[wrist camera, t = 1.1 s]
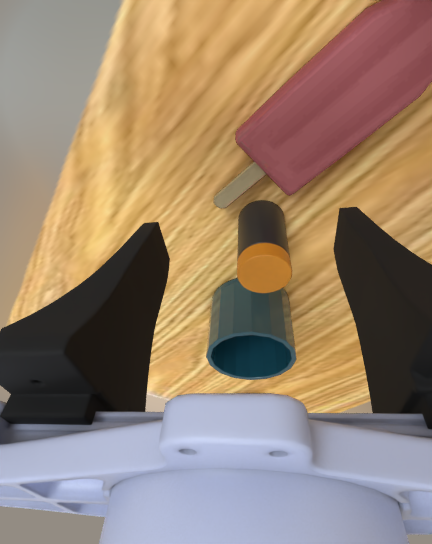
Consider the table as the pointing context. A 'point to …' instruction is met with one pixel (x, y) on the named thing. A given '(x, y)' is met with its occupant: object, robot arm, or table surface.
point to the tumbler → (250, 332)
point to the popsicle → (338, 97)
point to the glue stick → (263, 248)
